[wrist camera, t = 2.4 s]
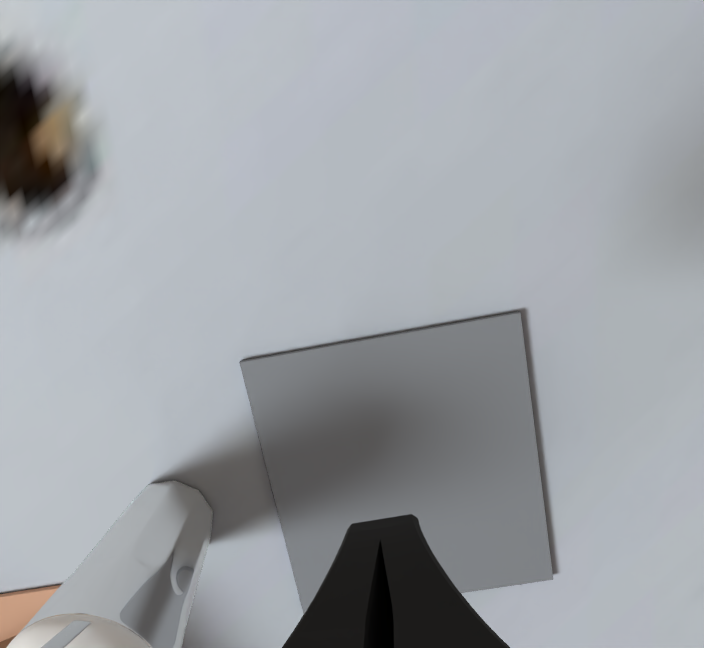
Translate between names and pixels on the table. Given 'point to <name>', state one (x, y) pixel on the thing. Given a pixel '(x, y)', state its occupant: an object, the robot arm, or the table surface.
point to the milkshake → (132, 578)
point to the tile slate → (407, 448)
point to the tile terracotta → (21, 609)
